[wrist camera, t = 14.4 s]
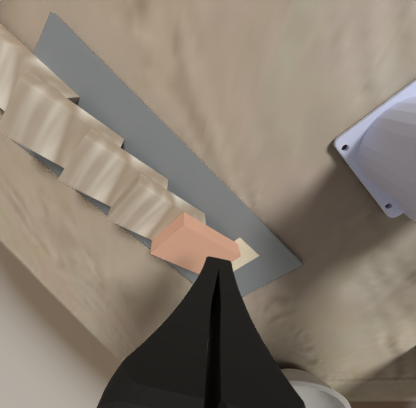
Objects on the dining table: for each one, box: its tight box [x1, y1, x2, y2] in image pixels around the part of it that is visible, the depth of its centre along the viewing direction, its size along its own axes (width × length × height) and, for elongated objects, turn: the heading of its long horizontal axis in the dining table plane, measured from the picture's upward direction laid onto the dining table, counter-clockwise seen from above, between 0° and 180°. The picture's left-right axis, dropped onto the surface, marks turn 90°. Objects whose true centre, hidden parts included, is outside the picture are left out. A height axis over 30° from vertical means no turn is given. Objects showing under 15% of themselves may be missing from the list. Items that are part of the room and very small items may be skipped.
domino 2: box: [0, 73, 124, 168], centre depth 18 cm, size 2×5×8 cm
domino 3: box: [58, 129, 168, 207], centre depth 19 cm, size 2×5×8 cm
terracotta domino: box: [150, 212, 241, 274], centre depth 22 cm, size 2×5×8 cm
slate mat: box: [15, 12, 303, 297], centre depth 22 cm, size 31×12×1 cm, turn 45°
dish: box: [280, 369, 351, 408], centre depth 33 cm, size 18×14×5 cm
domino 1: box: [0, 24, 80, 111], centre depth 18 cm, size 2×5×8 cm
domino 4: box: [107, 173, 206, 240], centre depth 21 cm, size 2×5×8 cm
